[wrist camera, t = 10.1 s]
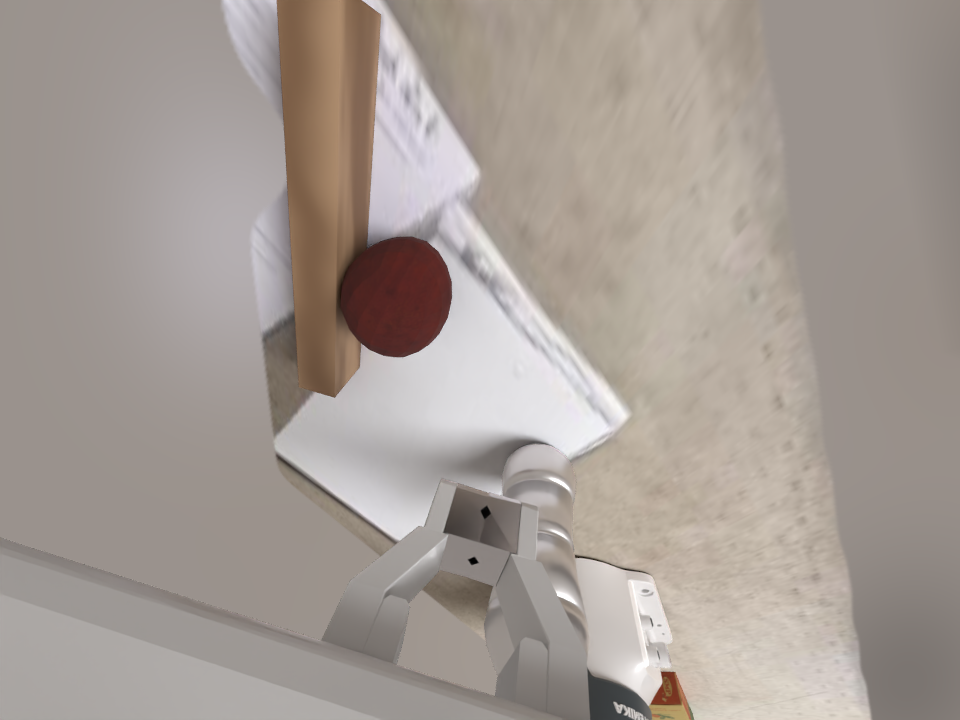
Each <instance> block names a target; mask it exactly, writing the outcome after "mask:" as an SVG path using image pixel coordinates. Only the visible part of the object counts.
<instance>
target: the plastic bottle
mask: <svg viewBox="0 0 960 720" xmlns="http://www.w3.org/2000/svg"><path fill="white" fill-rule="evenodd" d="M502 493H503V496H504V497H508V498H511V499H515V500H519V501H520V502H524V503H528V504H531V505H535V506H537V507H538V510H539V512H538V532H537V553H536V561H539V562H541V563H542V565H543V567H544V569H545V571H546V573H547V575H548V577H549V579H550V581H551V583H552V585H553V587H554V589H555V591H556V593H557V596H558V598H559V600H560V602H561V604H562V606H563V608H564V610H565V612H566V614H567V616H568V618H569V620H570V622H571V624H572V626H573V628H574V630H575V632H576V634H577V636H578V638H579V640H580V642H581V644H582V646H583V648H584V650H585V652H586V655H587V659H588V653H589V647H590V636H589V629H588V623H587V619H586V614H585V609H584V604H583V600H582V595H581V590H580V586H579V581H578V577H577V569H576V561H575V554H574V545H573V505H574V500H575V494H576V476H575V473H574V470H573V467H572V464H571V462H570V460H569V459H568V458H567V457H566V456H565V455H564V454H563V453H562V452H561V451H559V450H558V449H556V448H554V447H552V446H549V445H545V444H529V445H525V446H523V447H520V448H519V449H517V450H516V451H515V452H513V453H512V454H511V455H510V456H509V457H508V459H507V461H506V464H505V467H504V470H503V473H502ZM495 588H496V587H494V586H493V588H492V592H491V596H490V600H489V604H488V608H487V612H486V618H485V623H484V630H485V638H486V646H487V649H488V652H489V655H490V658H491V661H492V663H493V667H494V669H495V671H496V673H497V676H498V675H499V674H500V672H501V671H502V669H503V667H504V666H505V664H506V663H507V661H508V660H509V658H510V657H511V655H512V654H513V652H514V648H513V644H512V641H511V638H510V635H509V631H508V628H507V625H506V622H505V618H504V615H503V612H502V609H501V605H500V602H499V599H498V596H497V593H496V589H495Z"/></svg>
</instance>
